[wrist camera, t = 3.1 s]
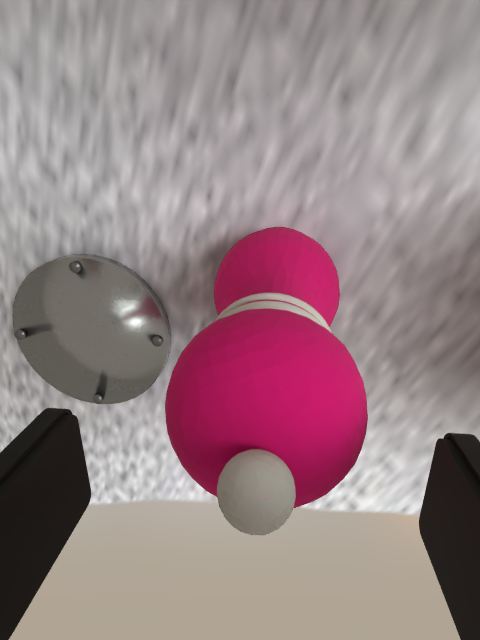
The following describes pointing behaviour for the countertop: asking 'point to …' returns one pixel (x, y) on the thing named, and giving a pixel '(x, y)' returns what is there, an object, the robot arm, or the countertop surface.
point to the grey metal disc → (92, 328)
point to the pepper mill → (268, 385)
